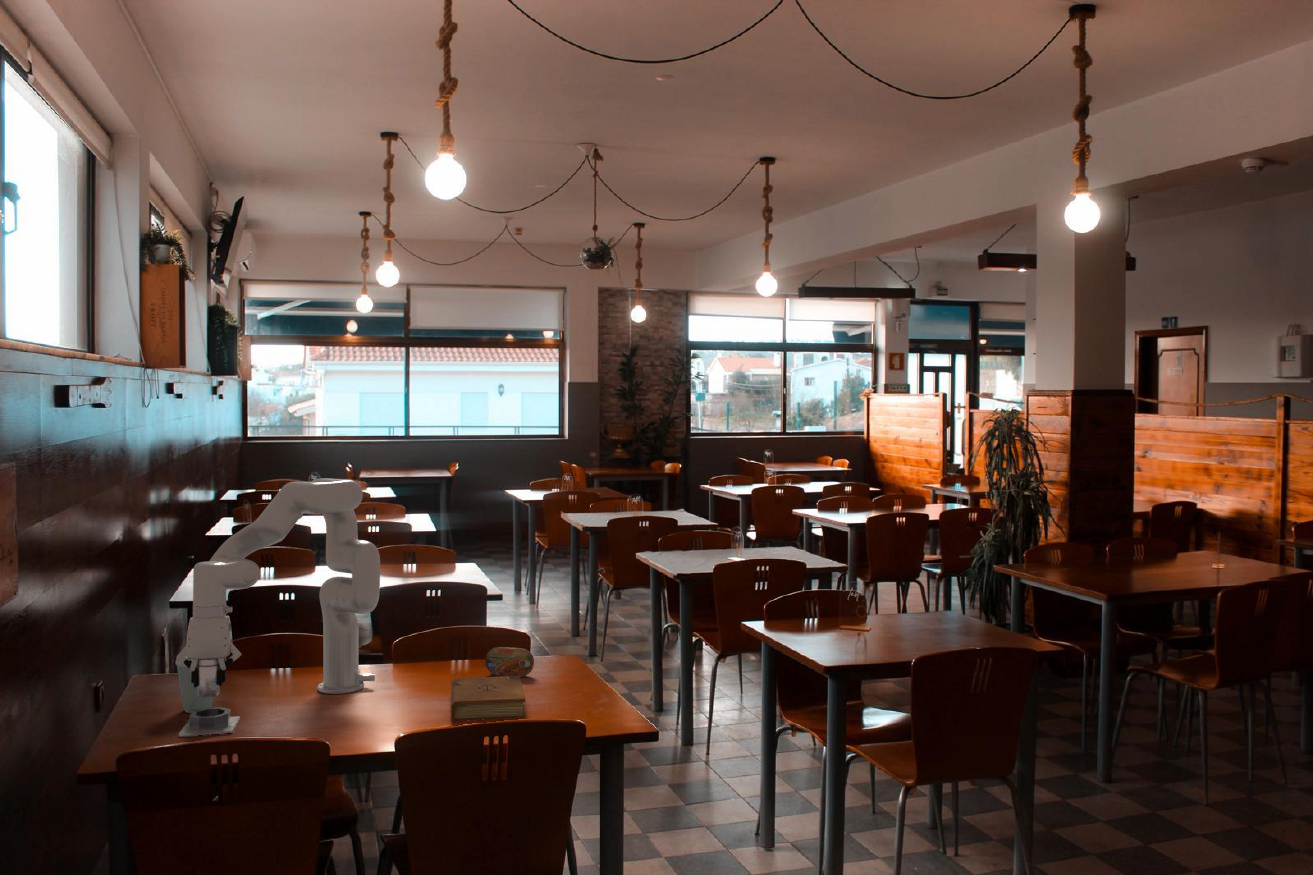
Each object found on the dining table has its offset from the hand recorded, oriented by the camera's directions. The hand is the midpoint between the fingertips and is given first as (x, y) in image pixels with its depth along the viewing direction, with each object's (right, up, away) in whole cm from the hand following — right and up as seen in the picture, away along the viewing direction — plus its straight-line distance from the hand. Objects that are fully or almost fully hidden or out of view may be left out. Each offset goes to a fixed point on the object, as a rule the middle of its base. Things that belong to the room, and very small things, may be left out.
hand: (208, 684), depth 256 cm
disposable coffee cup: (-10, -11, +16) cm, 21 cm away
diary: (+65, -11, +20) cm, 69 cm away
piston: (0, -2, 0) cm, 2 cm away
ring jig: (0, -11, +1) cm, 11 cm away
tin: (+67, -10, +53) cm, 86 cm away
